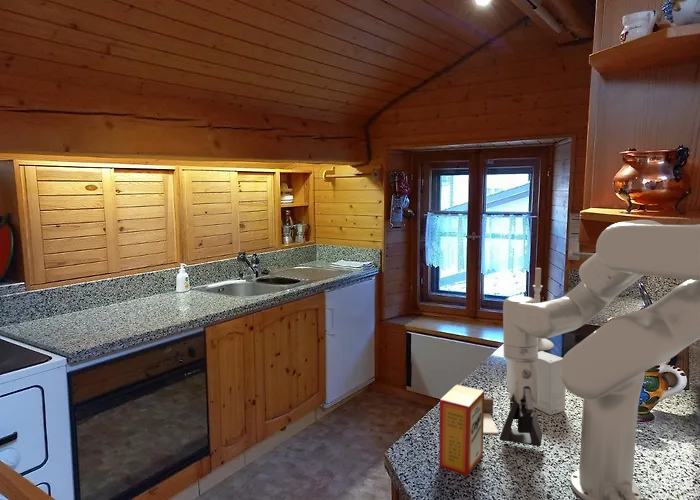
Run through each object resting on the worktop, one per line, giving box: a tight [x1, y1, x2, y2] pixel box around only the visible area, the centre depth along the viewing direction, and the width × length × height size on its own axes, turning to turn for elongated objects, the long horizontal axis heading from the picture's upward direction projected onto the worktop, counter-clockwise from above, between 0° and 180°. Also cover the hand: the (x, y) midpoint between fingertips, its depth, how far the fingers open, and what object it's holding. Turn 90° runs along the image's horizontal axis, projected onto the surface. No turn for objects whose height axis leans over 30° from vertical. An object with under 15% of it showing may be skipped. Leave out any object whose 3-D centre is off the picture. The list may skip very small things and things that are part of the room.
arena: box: [484, 397, 494, 414], centre depth 128 cm, size 13×10×4 cm
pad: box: [483, 413, 499, 435], centre depth 127 cm, size 10×7×1 cm
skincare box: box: [532, 350, 566, 416], centre depth 135 cm, size 8×6×15 cm
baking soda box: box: [438, 384, 485, 477], centre depth 110 cm, size 10×6×16 cm
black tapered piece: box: [499, 395, 543, 447], centre depth 115 cm, size 9×6×12 cm, turn 65°
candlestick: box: [532, 267, 555, 352], centre depth 186 cm, size 13×13×30 cm
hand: (521, 424), depth 115 cm, fingers closed on black tapered piece, 6 cm apart
